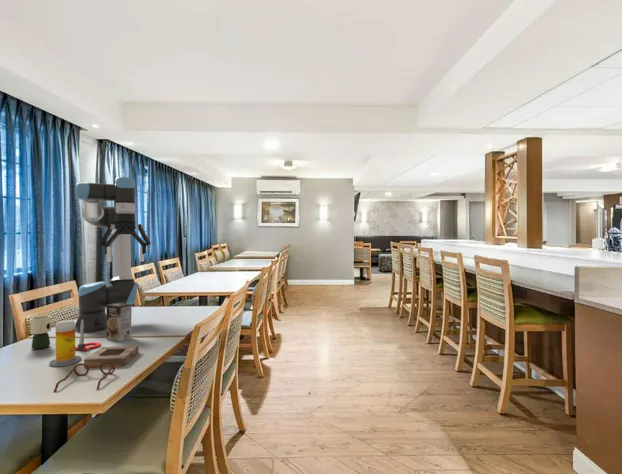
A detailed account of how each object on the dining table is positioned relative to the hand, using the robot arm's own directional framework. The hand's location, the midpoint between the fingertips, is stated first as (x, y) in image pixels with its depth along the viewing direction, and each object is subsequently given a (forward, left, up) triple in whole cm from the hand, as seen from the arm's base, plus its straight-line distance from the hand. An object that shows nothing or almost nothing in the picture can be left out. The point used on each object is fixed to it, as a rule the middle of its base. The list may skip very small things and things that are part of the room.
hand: (125, 261), depth 151 cm
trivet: (+18, -15, -37) cm, 44 cm away
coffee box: (-10, -7, -37) cm, 39 cm away
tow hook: (+1, -15, -37) cm, 40 cm away
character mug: (-1, -35, -37) cm, 51 cm away
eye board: (+18, +2, -37) cm, 41 cm away
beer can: (+18, -15, -36) cm, 43 cm away
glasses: (+38, +2, -37) cm, 54 cm away
